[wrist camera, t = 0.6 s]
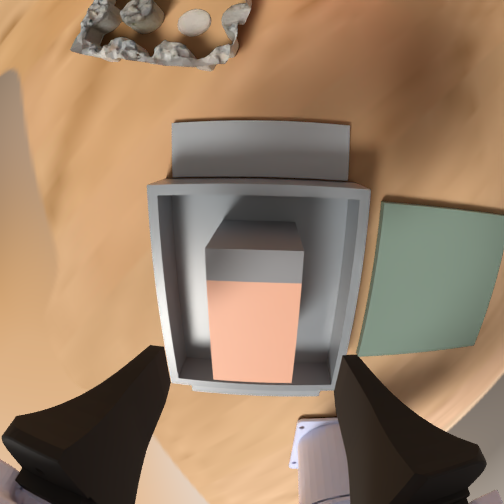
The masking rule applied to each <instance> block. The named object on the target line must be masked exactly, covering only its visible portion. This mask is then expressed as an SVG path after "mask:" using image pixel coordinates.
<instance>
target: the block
mask: <svg viewBox="0 0 504 504" xmlns="http://www.w3.org/2000/svg"><path fill="white" fill-rule="evenodd" d="M303 260H304V249H303V246H302V242H301V239H300V236H299V233H298V229H297V226H296V223H295V222H285V221H248V220H222V222H221V223H220V225H219V227H218V228H217V230H216V231H215V233H214V234H213V236H212V238H211V239H210V241H209V242H208V244H207V246H206V247H205V263H206V283H207V300H208V316H209V331H210V344H211V357H212V368H213V380H226V381H242V382H265V383H292V375H293V367H294V358H295V349H296V340H297V330H298V320H299V309H300V298H301V286H302V274H303Z"/></svg>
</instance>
